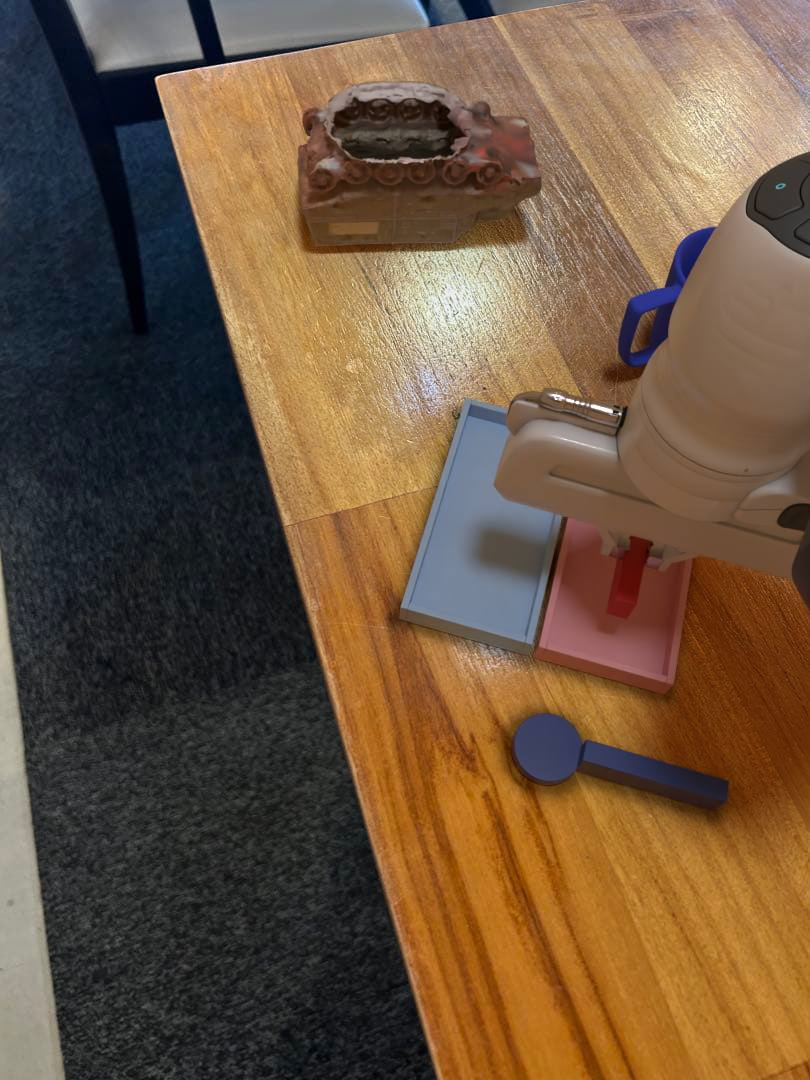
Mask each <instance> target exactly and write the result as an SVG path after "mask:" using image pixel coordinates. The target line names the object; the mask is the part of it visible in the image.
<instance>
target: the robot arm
mask: <svg viewBox="0 0 810 1080" xmlns="http://www.w3.org/2000/svg"><path fill="white" fill-rule="evenodd" d="M715 227H716V229H715V230H714V232H713V233H712V235H711V237H710V238H709V240H708V242H707V243H706V245H705V247H704V248H703V250H702V252H701V254H700V255H699V257H698V259H697V261H696V263H695V265H694V266H693V268H692V270H691V272H690V274H689V276H688V278H687V280H686V282H685V284H684V286H683V288H682V291H681V293H680V295H679V297H678V299H677V301H676V303H675V305H674V308H673V311H672V314H671V317H670V322H669V328H668V338H667V339H666V340H665V341H664V342H662V343H661V344H660V346H659V347H658V348H657V349H656V350H655V352H654V353H653V355H652V356H651V358H650V359H649V361H648V363H647V364H645V367H644V370H643V371H642V374H641V376H640V378H639V381H638V382H637V384H636V387H635V389H634V390H633V393H632V395H631V396H630V400H629V402H628V405H626V406H622V405H619V404H615V403H612V402H608V401H604V400H600V399H597V398H596V399H595V398H590V397H584V396H578V395H577V396H576V394H571V393H569V392H568V391H566V390H564V389H561V388H556V387H546V386H545V387H543V389H542V391H537V390H529V391H520V392H517V393H516V394H515V395H514V396H513V398H512V399H511V400H510V402H509V405H508V408H507V409H508V412H507V415H506V423H507V428H508V430H509V431H510V432H509V435H508V437H507V440H506V442H505V445H504V448H503V451H502V455H501V458H500V461H499V464H498V468H497V472H496V475H495V479H494V487H495V489H496V490H497V491H498V493H499V494H500V495H501V496H502V497H503V498H504V499H506V500H508V501H511V502H514V503H518V504H522V505H525V506H529V507H532V508H536V509H540V510H543V511H547V512H550V513H554V514H557V515H561V516H562V517H564V518H565V517H568V518H571V519H575V520H578V521H582V522H586V523H589V524H593V525H596V526H597V527H596V529H597V531H598V532H599V534H600V536H601V537H602V539H603V544H602V548H601V555H606V556H609V557H613V558H617V559H621V560H622V559H623V558H624V555H626V554H627V552H628V551H629V547H630V542H631V541H630V538H631V536H635V537H639V538H642V539H646V540H649V543H648V548H647V554H646V558H645V565H644V566H645V567H648V568H652V569H655V570H658V571H662V572H665V571H666V570H667V568H668V567H669V566H670V564H671V563H672V562H673V563H675V562H679V561H683V560H687V559H692V558H693V559H695V558H698V557H699V556H703V557H706V558H710V559H713V560H717V561H721V562H725V563H726V564H727V563H728V564H730V565H735V566H737V567H742V568H745V569H749V570H753V571H756V572H759V573H762V574H766V575H770V576H774V577H777V578H780V579H785V580H788V581H791V582H793V585H794V587H795V589H796V590H797V592H798V594H799V596H800V598H801V599H802V602H803V603H804V604H805V606H806V608H807V609H808V611H809V612H810V151H806V152H804V153H803V152H802V153H800V154H797V155H795V156H793V157H790V158H788V159H786V160H784V161H782V162H780V163H778V164H776V165H775V166H773V167H771V168H770V169H768V170H767V171H766V172H764V173H762V174H761V175H760V176H759V177H758V178H755V180H754V181H753V182H752V183H751V184H750V185H749V186H747V188H745V190H744V191H743V192H742V193H741V194H740V195H739V196H738V198H736V199H735V201H734V202H733V203H732V205H731V206H730V207H729V209H728V210H727V212H726V213H725V214H724V215H723V217H722V218H721V219H720V221H719V223H718V224H717V226H715Z"/></svg>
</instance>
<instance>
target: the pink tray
mask: <svg viewBox="0 0 810 1080" xmlns="http://www.w3.org/2000/svg"><path fill="white" fill-rule="evenodd" d="M596 527H597V526H596V525H593V524H589V523H586V522H582V521H578V520H575V519H571V518H568V517H564V521H563V525H562V530H561V535H560V539H559V544H558V548H557V552H556V556H555V561H554V565H553V570H552V574H551V577H550V583H549V587H548V591H547V596H546V600H545V605H544V607H543V608H544V609H543V613H542V617H541V622H540V626H539V630H538V634H537V639H536V642H535V643H536V644H535V647H534V652H533V658H534V659H537V660H541V661H545V662H548V663H552V664H554V665H558V666H562V667H565V668H568V669H573V670H576V671H579V672H583V673H586V674H590V675H594V676H597V677H600V678H603V679H608V680H611V681H613V682H614V681H615V682H618V683H622V684H625V685H628V686H632V687H635V688H639V689H643V690H646V691H650V692H653V693H656V694H659V695H664V696H665V695H666V694H667V693H668V692H669V691H670V690H671V688H672V687H673V686H674V685H675V679H676V672H677V666H678V660H679V653H680V652H679V651H680V647H681V639H682V632H683V628H684V620H685V614H686V606H687V601H688V600H687V599H688V594H689V586H690V579H691V574H692V566H693V559H694V558H692V559H687V560H683V561H679V562H675V563H673V562H672V563H671V564H670V566H669V567H668V568H667V570H666V571H665V572H662V571H658V570H655V569H652V568H648V567H645V566H644V570H643V575H642V580H641V586H640V591H639V596H638V601H637V605H636V606H635V608H634V609H633V611H632V612H631V613H630V615H629V616H628V618H627V619H623V618H620V617H616V616H613V615H609V614H607V613H606V610H607V605H608V600H609V596H610V591H611V586H612V581H613V576H614V572H615V567H616V562H617V558H613V557H609V556H606V555H601V548H602V544H603V539H602V537H601V536H600V534H599V532H598V531H597V529H596Z"/></svg>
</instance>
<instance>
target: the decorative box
mask: <svg viewBox="0 0 810 1080" xmlns="http://www.w3.org/2000/svg"><path fill="white" fill-rule="evenodd" d="M515 90H517V91H518V89H517V88H516V89H515ZM326 105H327V107H321V106H312V107H310V108H307V109H306V110H304V111H303V113H302V119H301V123H302V128H303V130H304V133H305V135H306V136H307V137H309V138H308V139H307V143H305V144H301V145H298V147H297V156H298V157H297V161H296V164H297V175H298V179H297V181H298V189H299V198H300V204H301V207H300V213H302V214H303V215H304V220H305V222H306V224H307V226H308V230H309V236H310V240H311V243H313V245H314V246H315V247H317V248H319V247H325V246H326V247H331V246H354V245H355V246H356V245H381V244H384V245H385V244H388V245H389V244H391V245H395V244H432V243H433V244H442V243H443V244H444V243H451V244H453V243H455V242H456V241H457V240H458V238H459V237H461V236H462V235H463V234H464V233H466V232H469V231H471V230H473V229H474V228H475V227H476V226H477V224H478V222H496V221H502V220H506V219H507V218H508V217H510V215H511V216H512V215H513V214H514V209H515V208H516V207H517V206H518V205H519V204H520V203H521V202H522V201H525V200H526V199H527V200H528V199H531V198H534V197H536V196H537V195H539V194H540V193H541V191H542V187H543V182H542V178H543V177H542V176H543V173H542V172H541V170H540V168H539V163H538V161H537V156H536V151H535V150H536V144H535V141H534V140H533V139H532V136H531V132H530V129H531V128H530V124H529V121H528V119H527V118H526V117H525V116H522V115H498V116H497V115H492V112H491V106H490V104H489V102H488V101H487V100H486V99H485V100H483V99H475V100H468V101H467V100H466V101H464V100H463V99H462V98H461V97H460V96H459V95H457V94H455V93H454V92H452V91H451V90H449V89H448V88H447V87H443V86H441V85H438V84H435V83H430V82H427V81H420V80H418V81H414V80H403V79H402V80H397V81H396V80H395V81H393V80H390V81H387V80H378V81H374V80H373V81H370V82H369V81H368V82H361V83H359V84H352V85H350V86H347V88H344V89H342V90H340V91H339V92H337V93H335V94H334V95H333V96H332V97H331V98H330V99H328V100H327V103H326Z"/></svg>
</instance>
